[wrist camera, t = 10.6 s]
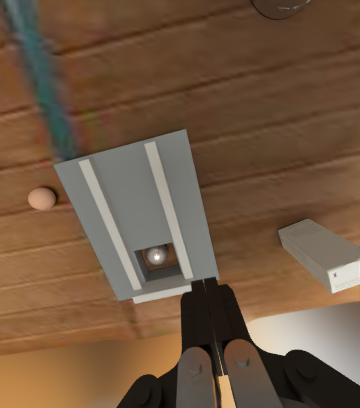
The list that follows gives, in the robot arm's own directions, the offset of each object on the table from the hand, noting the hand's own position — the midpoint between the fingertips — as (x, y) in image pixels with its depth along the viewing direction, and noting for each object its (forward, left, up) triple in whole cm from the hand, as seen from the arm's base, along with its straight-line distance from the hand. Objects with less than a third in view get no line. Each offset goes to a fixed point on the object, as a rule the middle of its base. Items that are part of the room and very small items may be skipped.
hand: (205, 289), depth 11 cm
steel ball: (+10, -8, -20) cm, 24 cm away
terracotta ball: (-5, -23, -20) cm, 31 cm away
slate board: (+4, -8, -22) cm, 24 cm away
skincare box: (+13, +18, -22) cm, 32 cm away
